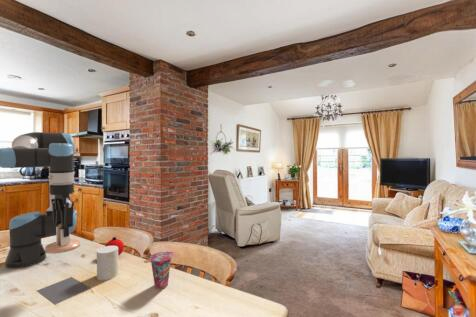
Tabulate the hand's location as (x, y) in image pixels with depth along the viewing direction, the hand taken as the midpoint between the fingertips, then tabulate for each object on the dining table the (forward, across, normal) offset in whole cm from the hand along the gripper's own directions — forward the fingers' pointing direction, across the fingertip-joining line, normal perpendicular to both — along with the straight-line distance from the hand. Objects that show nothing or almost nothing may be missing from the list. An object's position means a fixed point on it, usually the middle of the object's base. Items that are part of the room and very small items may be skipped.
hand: (63, 243), depth 93 cm
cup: (+18, +30, +23) cm, 42 cm away
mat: (+18, +1, 0) cm, 18 cm away
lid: (+2, 0, 0) cm, 2 cm away
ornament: (+19, -12, +28) cm, 36 cm away
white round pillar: (+19, +5, +15) cm, 24 cm away
